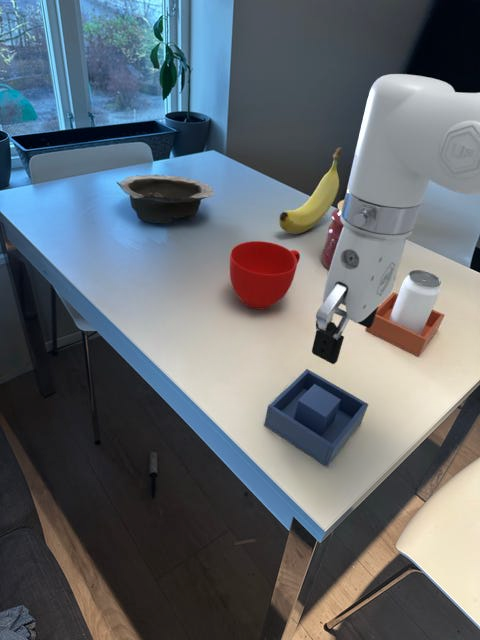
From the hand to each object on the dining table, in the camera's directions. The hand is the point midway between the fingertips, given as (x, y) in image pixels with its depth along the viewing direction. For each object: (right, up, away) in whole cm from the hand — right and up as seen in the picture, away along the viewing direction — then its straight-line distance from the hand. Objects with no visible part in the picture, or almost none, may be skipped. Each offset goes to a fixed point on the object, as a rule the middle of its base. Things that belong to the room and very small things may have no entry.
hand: (342, 339), depth 56 cm
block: (-2, -13, +10) cm, 16 cm away
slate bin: (-2, -13, +10) cm, 17 cm away
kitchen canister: (+13, +15, +51) cm, 55 cm away
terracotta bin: (+19, 0, +31) cm, 37 cm away
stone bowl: (-33, +32, +65) cm, 79 cm away
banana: (+4, +27, +65) cm, 70 cm away
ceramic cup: (-8, +7, +36) cm, 38 cm away
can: (+19, 0, +31) cm, 36 cm away
